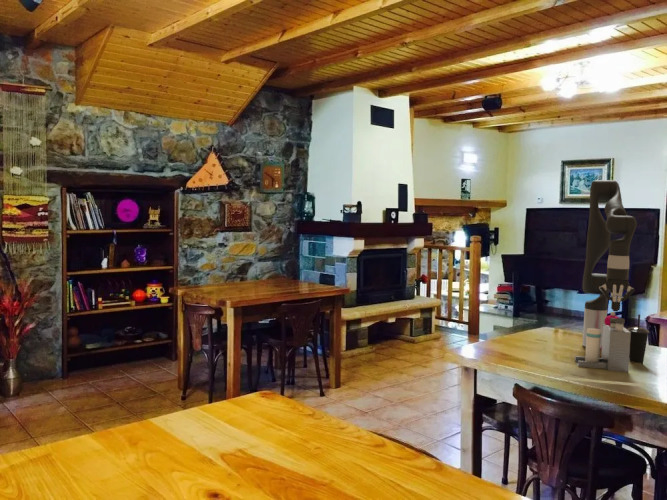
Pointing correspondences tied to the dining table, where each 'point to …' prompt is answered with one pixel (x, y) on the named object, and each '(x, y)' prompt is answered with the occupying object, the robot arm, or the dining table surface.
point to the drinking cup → (637, 343)
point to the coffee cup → (593, 344)
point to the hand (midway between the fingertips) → (615, 311)
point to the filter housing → (611, 351)
